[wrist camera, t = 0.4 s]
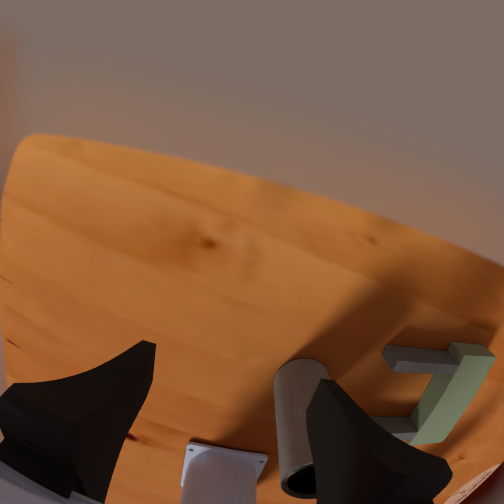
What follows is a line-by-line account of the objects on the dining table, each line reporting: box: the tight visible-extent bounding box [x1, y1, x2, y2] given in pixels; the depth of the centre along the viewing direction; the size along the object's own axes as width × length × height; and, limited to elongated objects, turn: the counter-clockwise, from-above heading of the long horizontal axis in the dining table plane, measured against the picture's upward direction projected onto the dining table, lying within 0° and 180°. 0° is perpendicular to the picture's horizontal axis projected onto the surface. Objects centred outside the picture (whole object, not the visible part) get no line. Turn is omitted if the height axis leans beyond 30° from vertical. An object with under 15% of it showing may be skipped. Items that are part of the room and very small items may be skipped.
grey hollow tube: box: [273, 359, 330, 499], centre depth 18 cm, size 4×4×10 cm
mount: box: [369, 342, 496, 445], centre depth 23 cm, size 11×12×2 cm
